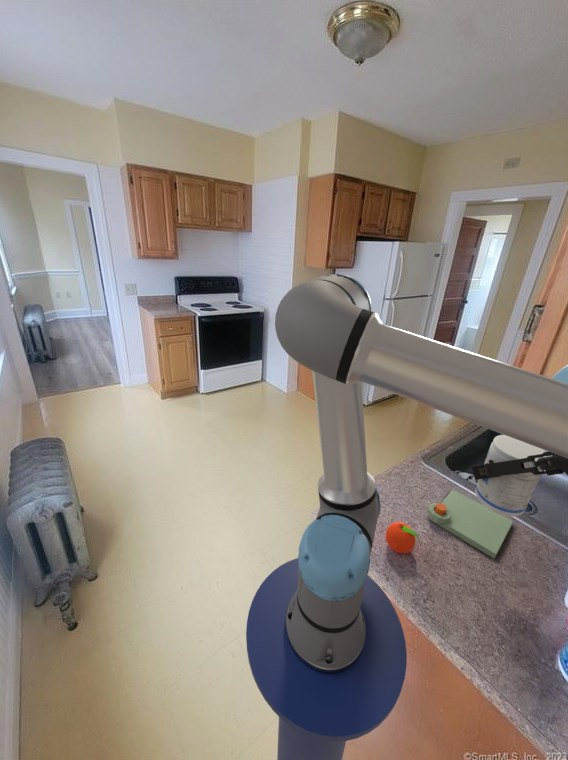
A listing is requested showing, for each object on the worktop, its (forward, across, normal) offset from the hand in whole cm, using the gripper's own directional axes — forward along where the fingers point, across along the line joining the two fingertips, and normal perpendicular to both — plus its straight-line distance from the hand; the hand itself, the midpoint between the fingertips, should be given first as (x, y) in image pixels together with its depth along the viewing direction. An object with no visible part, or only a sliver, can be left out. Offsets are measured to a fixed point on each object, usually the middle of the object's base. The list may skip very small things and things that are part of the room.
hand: (495, 471), depth 71 cm
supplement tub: (+2, 0, -6) cm, 7 cm away
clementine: (+18, -18, -16) cm, 30 cm away
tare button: (+21, -3, -8) cm, 23 cm away
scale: (+22, +6, -12) cm, 26 cm away
